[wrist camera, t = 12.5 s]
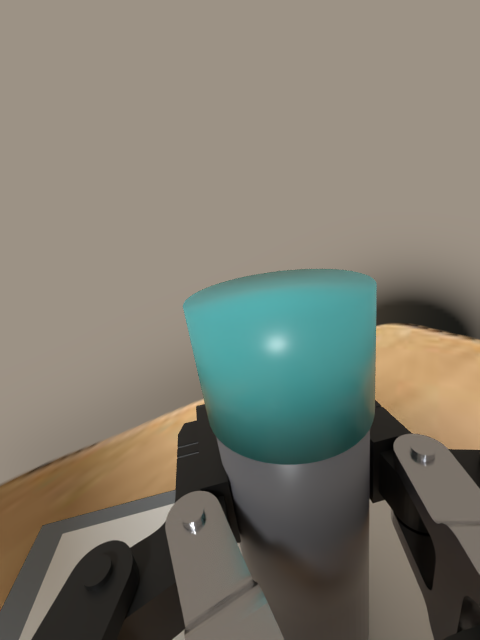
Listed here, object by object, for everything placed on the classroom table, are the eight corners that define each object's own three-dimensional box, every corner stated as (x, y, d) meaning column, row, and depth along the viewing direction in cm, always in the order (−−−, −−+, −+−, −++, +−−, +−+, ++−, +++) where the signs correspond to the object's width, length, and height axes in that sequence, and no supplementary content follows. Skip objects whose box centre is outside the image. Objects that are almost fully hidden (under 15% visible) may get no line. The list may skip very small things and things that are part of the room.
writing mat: (-501, 1705, 3) (-579, 1757, 3) (46, 532, 15) (41, 522, 15) (805, 913, 6) (827, 902, 5) (380, 442, 18) (380, 432, 17)
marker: (270, 717, 8) (181, 342, 4) (243, 558, 12) (183, 287, 8) (401, 666, 9) (431, 290, 5) (333, 530, 13) (319, 262, 9)
